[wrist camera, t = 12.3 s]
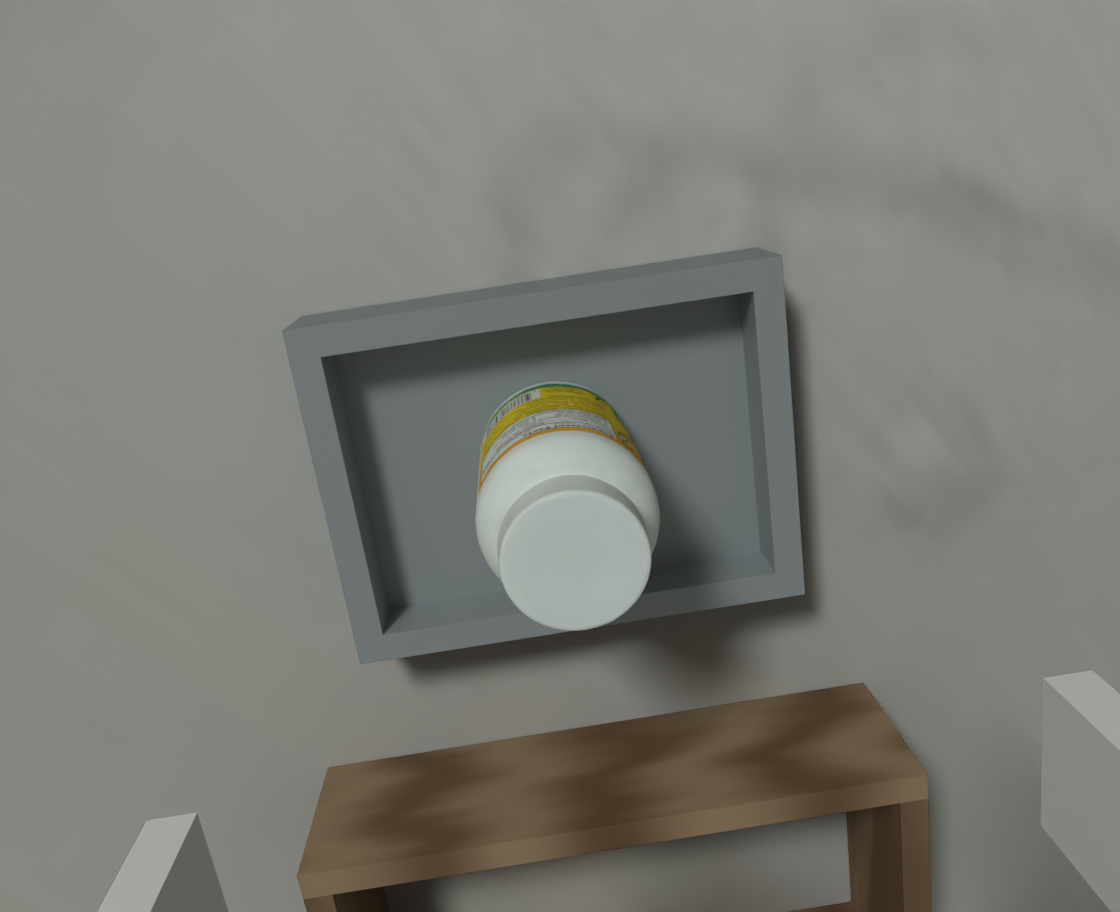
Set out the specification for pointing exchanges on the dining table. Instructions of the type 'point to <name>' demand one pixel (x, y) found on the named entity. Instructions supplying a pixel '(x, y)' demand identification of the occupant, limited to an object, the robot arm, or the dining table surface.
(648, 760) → the walnut box
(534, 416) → the supplement bottle
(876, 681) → the dining table surface
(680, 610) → the slate tray
